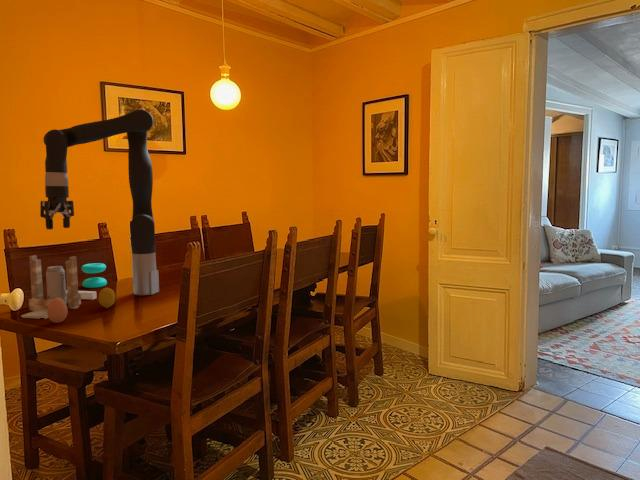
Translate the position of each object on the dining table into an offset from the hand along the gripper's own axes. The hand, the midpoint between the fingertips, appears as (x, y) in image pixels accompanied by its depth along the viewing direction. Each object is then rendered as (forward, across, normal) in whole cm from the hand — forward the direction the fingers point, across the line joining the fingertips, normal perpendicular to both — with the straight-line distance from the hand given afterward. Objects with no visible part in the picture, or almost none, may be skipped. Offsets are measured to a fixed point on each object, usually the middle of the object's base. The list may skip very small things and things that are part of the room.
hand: (58, 228), depth 169 cm
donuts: (+29, +31, +8) cm, 43 cm away
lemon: (+29, -3, -22) cm, 36 cm away
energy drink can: (+29, -4, -2) cm, 29 cm away
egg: (+29, -22, -17) cm, 40 cm away
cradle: (+29, -4, -2) cm, 29 cm away
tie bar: (+29, +10, 0) cm, 31 cm away
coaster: (+29, -14, -5) cm, 33 cm away
